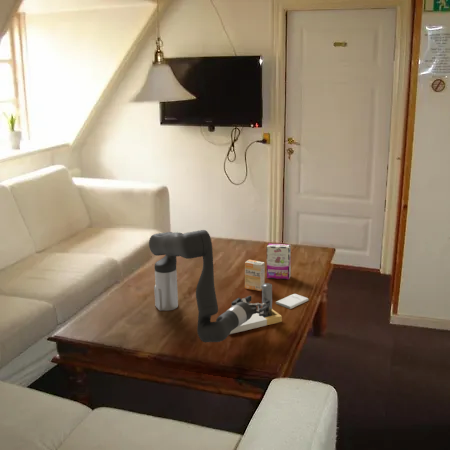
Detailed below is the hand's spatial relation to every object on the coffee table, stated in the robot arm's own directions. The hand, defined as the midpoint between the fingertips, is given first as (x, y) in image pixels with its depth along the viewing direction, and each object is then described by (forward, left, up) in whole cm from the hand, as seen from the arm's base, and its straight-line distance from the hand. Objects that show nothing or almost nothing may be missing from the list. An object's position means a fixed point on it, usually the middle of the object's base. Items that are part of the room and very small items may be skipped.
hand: (259, 300), depth 231 cm
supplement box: (+16, +34, -11) cm, 39 cm away
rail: (-3, +3, -10) cm, 11 cm away
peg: (+5, +3, -11) cm, 12 cm away
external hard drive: (+23, +13, -11) cm, 29 cm away
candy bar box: (+33, +41, -11) cm, 54 cm away
